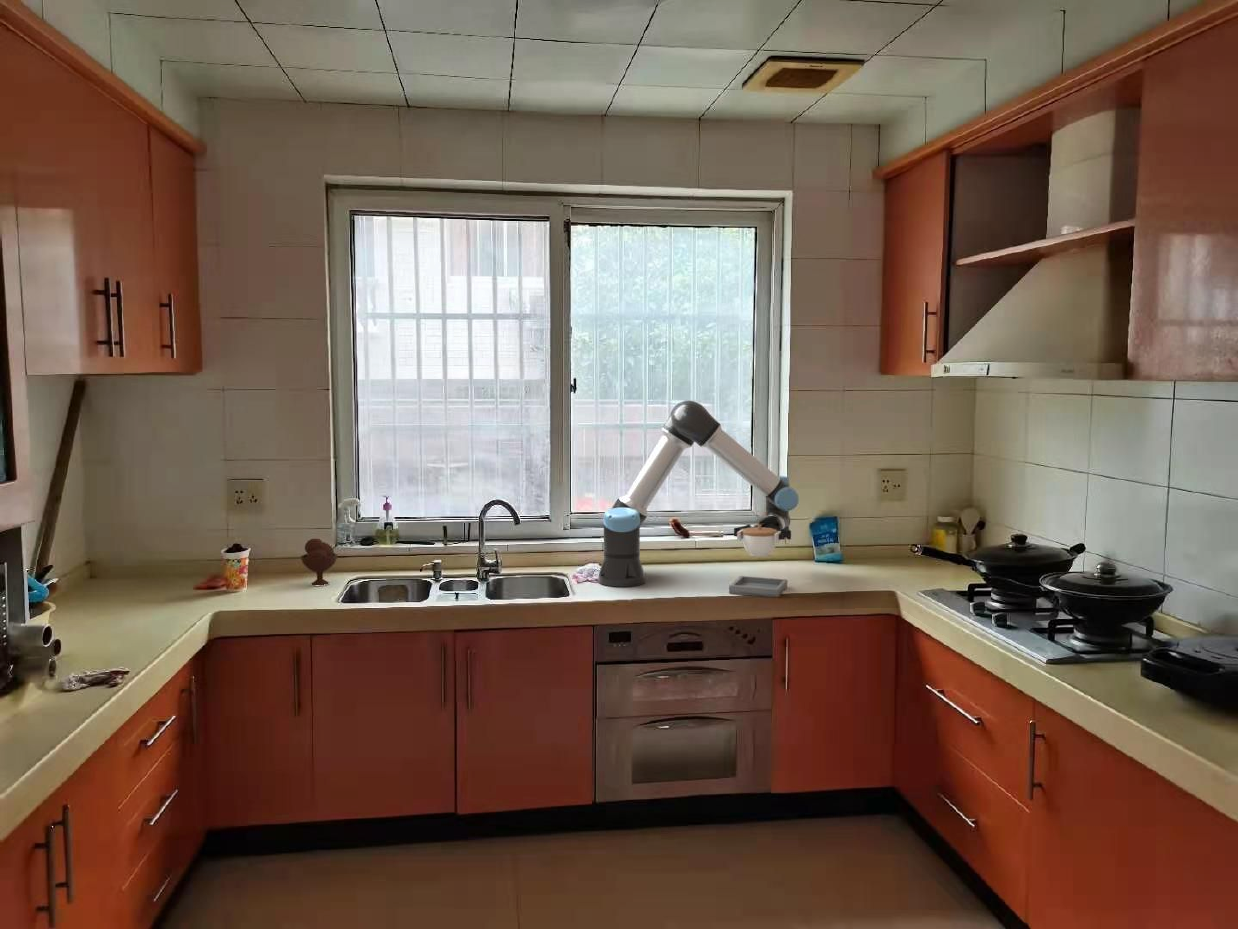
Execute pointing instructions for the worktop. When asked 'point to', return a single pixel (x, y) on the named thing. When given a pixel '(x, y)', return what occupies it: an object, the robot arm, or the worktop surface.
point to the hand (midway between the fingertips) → (756, 537)
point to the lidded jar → (759, 540)
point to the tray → (758, 586)
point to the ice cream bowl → (318, 558)
